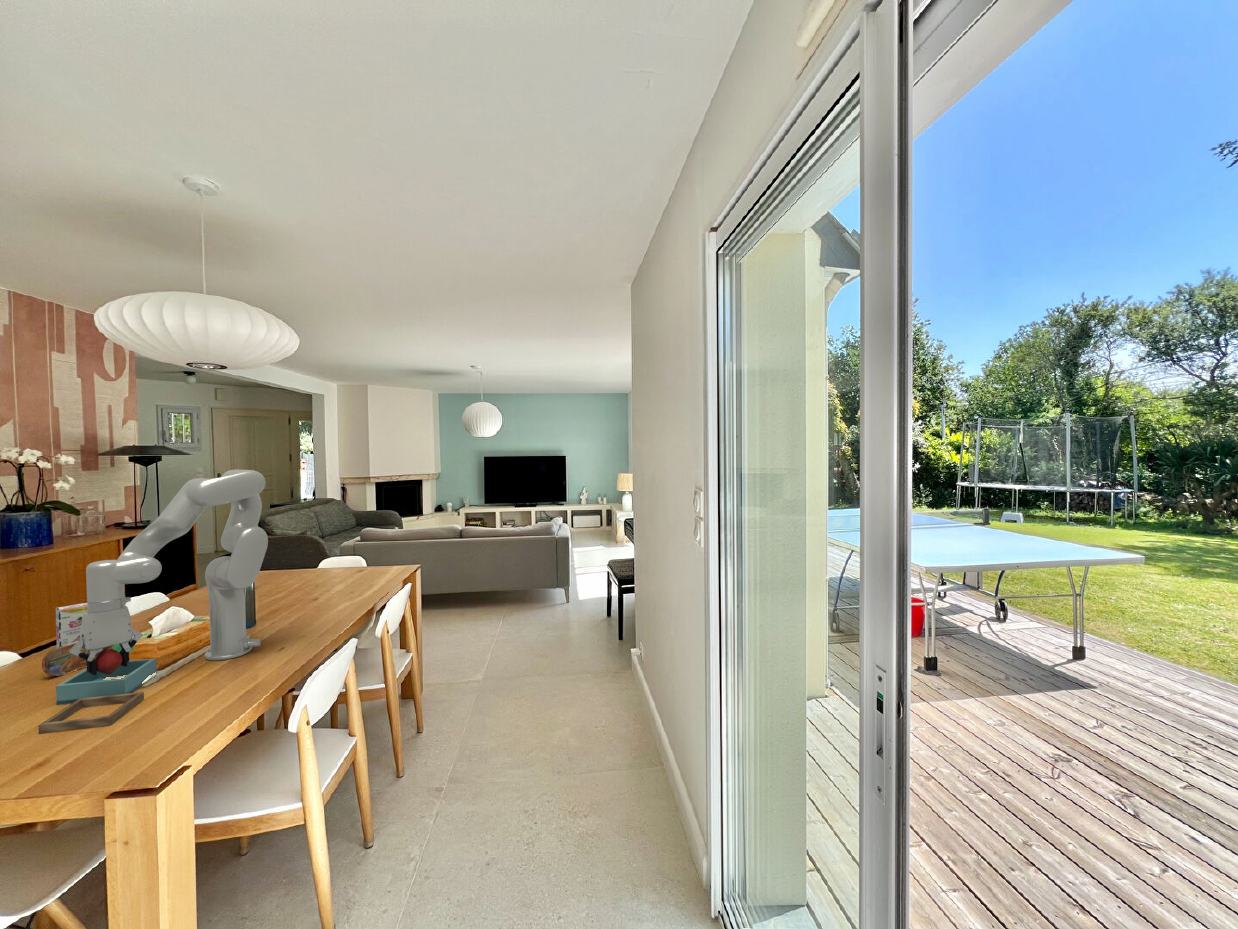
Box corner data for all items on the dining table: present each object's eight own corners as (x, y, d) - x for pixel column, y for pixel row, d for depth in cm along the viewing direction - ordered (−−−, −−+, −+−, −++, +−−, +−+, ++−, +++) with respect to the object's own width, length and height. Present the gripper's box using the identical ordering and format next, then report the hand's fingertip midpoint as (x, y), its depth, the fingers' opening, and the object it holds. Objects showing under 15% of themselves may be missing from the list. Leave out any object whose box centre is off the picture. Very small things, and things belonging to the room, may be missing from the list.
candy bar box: (60, 662, 172) (57, 610, 171) (56, 658, 174) (54, 607, 174) (107, 651, 181) (105, 601, 180) (103, 647, 184) (101, 599, 183)
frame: (144, 699, 146) (143, 692, 146) (110, 725, 132) (109, 717, 132) (80, 706, 142) (79, 698, 142) (38, 733, 129) (38, 725, 128)
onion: (98, 680, 148) (97, 651, 148) (91, 676, 151) (90, 647, 151) (126, 673, 153) (125, 644, 152) (118, 668, 156) (117, 641, 156)
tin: (48, 681, 158) (47, 652, 158) (40, 680, 158) (38, 651, 158) (106, 660, 173) (105, 634, 172) (98, 659, 173) (97, 633, 173)
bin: (156, 675, 161) (156, 658, 161) (125, 697, 147) (124, 679, 146) (95, 681, 157) (94, 664, 157) (56, 705, 143) (55, 686, 143)
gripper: (139, 596, 160) (141, 656, 161) (58, 611, 146) (60, 678, 146) (150, 599, 157) (152, 661, 157) (68, 616, 142) (71, 684, 142)
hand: (108, 669), depth 152 cm, fingers closed on onion, 5 cm apart
